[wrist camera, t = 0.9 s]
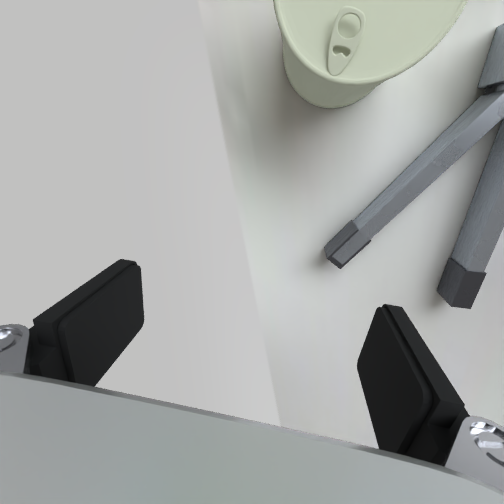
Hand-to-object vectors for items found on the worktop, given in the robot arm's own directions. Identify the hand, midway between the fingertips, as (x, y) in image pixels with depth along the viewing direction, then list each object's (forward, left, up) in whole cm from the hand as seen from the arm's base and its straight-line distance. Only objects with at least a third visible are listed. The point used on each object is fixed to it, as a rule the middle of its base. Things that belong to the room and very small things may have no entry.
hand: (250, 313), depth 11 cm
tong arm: (-11, -2, -19) cm, 22 cm away
